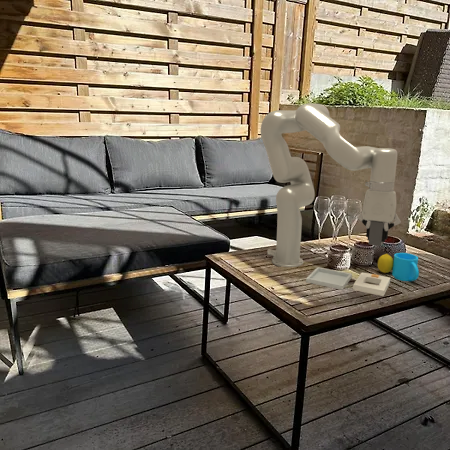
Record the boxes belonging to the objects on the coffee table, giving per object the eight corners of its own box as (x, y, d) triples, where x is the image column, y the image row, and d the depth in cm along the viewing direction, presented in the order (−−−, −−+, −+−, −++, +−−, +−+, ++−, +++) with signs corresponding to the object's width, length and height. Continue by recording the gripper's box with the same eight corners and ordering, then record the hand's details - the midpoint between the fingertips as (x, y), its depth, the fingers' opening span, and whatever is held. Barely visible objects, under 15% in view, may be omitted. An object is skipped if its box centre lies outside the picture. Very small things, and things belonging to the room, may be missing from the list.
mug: (387, 273, 160) (389, 253, 157) (407, 272, 161) (409, 252, 159) (405, 286, 148) (408, 264, 146) (426, 284, 150) (429, 263, 147)
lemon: (393, 277, 156) (395, 256, 154) (377, 275, 157) (380, 255, 155) (390, 271, 161) (393, 252, 159) (375, 270, 162) (377, 250, 160)
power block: (352, 291, 143) (353, 283, 143) (361, 278, 154) (361, 271, 153) (383, 297, 139) (384, 289, 138) (389, 284, 150) (390, 276, 149)
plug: (368, 244, 141) (370, 221, 139) (371, 240, 145) (373, 218, 143) (380, 246, 139) (383, 222, 137) (383, 242, 143) (385, 219, 141)
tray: (305, 283, 149) (306, 278, 149) (317, 271, 160) (317, 267, 160) (342, 291, 143) (342, 286, 143) (351, 278, 154) (352, 273, 154)
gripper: (353, 186, 138) (348, 239, 143) (407, 190, 130) (401, 247, 135) (358, 182, 144) (353, 234, 149) (410, 187, 136) (404, 241, 141)
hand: (376, 239), depth 142 cm, fingers closed on plug, 4 cm apart
